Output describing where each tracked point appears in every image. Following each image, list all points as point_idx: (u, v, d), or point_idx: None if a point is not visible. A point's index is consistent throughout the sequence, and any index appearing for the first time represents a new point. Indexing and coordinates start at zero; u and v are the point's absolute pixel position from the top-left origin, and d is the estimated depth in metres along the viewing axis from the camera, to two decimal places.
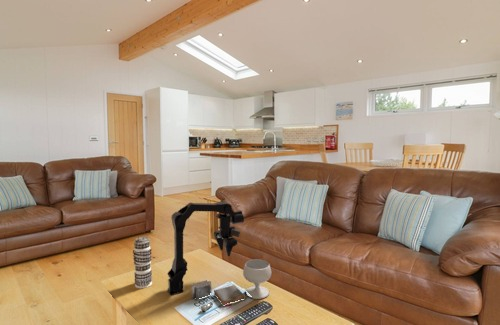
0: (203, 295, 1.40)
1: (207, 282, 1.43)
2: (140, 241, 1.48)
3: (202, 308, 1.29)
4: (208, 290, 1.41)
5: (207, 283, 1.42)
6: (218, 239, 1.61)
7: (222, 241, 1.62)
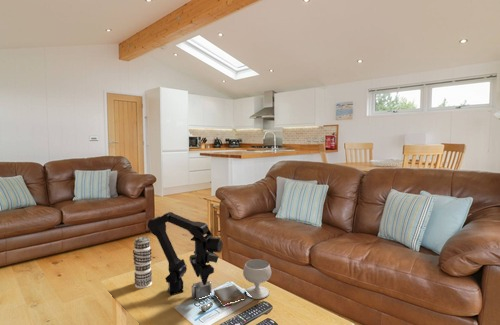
0: (203, 295, 1.40)
1: (207, 282, 1.43)
2: (140, 241, 1.48)
3: (202, 308, 1.29)
4: (208, 290, 1.41)
5: (207, 283, 1.42)
6: (194, 264, 1.44)
7: (199, 266, 1.45)
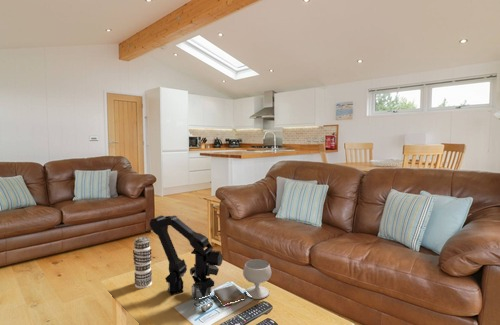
0: None
1: None
2: (140, 241, 1.48)
3: (202, 308, 1.29)
4: (208, 290, 1.41)
5: None
6: (196, 279, 1.43)
7: None
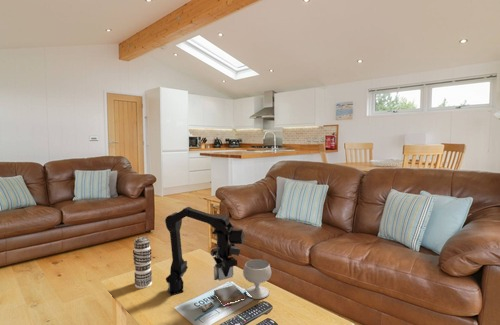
0: None
1: None
2: (140, 241, 1.48)
3: (202, 308, 1.29)
4: (230, 270, 1.38)
5: None
6: (217, 260, 1.41)
7: (222, 262, 1.42)
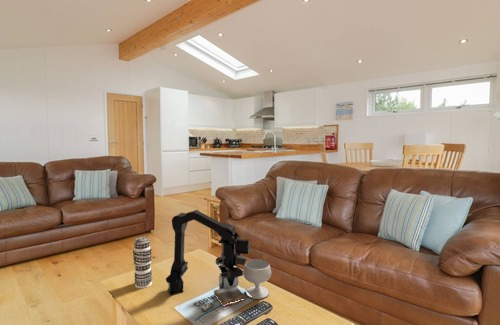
0: None
1: None
2: (140, 241, 1.48)
3: (202, 308, 1.29)
4: (235, 280, 1.39)
5: None
6: (222, 268, 1.41)
7: (227, 270, 1.42)
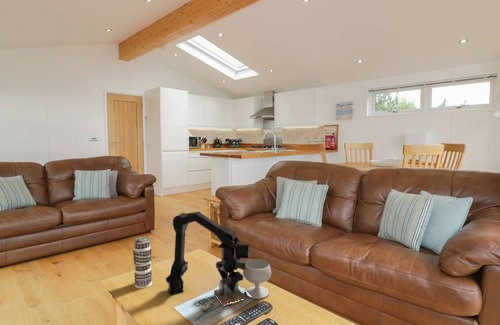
0: None
1: None
2: (140, 241, 1.48)
3: (202, 308, 1.29)
4: (235, 286, 1.39)
5: None
6: (222, 272, 1.42)
7: (226, 274, 1.43)
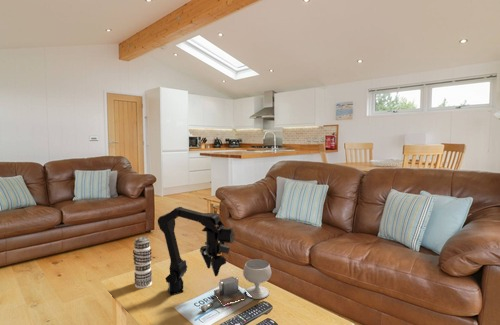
0: (231, 291, 1.38)
1: (234, 278, 1.41)
2: (140, 241, 1.48)
3: (202, 308, 1.29)
4: (235, 286, 1.39)
5: (234, 279, 1.40)
6: (205, 256, 1.42)
7: (209, 258, 1.43)
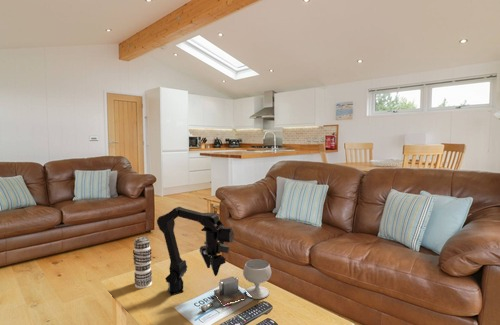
0: (231, 291, 1.38)
1: (234, 278, 1.41)
2: (140, 241, 1.48)
3: (202, 308, 1.29)
4: (235, 286, 1.39)
5: (234, 279, 1.40)
6: (204, 255, 1.42)
7: (209, 258, 1.43)
